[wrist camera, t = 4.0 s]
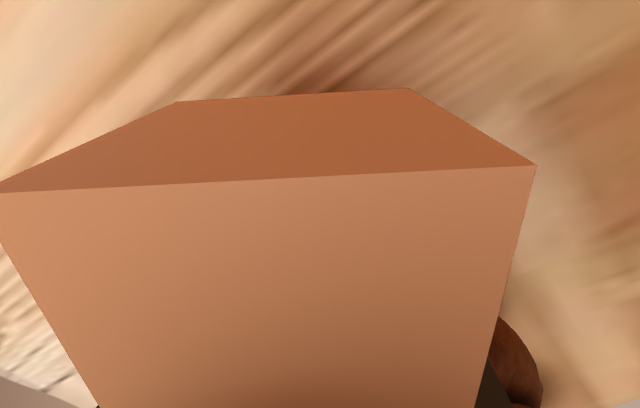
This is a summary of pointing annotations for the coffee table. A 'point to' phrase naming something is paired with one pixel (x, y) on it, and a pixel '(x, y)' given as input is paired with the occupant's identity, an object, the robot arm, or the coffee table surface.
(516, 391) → the wooden figurine
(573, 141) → the coffee table surface
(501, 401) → the robot arm
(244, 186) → the brick
